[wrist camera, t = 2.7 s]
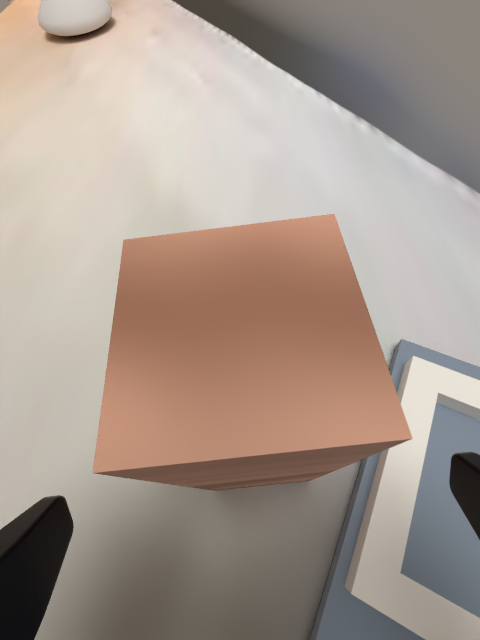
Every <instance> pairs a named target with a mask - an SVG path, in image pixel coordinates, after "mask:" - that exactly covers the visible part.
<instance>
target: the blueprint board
mask: <svg viewBox="0 0 480 640" xmlns="http://www.w3.org/2000/svg"><path fill="white" fill-rule="evenodd" d="M389 372H390V375H391V378H392V381H393V384H394V386H395V389H396V392H397V395H398V398H399V401H400V404H401V406H402V409H403V412H404V415H405V418H406V421H407V424H408V426H409V429H410V432H411V435H412V438H413V439H411V440H409V441H406V442H404V443H401V444H399V445H396V446H394V447H391V448H389V449H386V450H384V451H382V452H379V453H377V454H374V455H372V456H369V457H367V458H364V459H363V460H362V463H361V466H360V470H359V473H358V477H357V480H356V483H355V487H354V490H353V494H352V497H351V500H350V504H349V507H348V511H347V514H346V517H345V521H344V524H343V528H342V531H341V534H340V538H339V541H338V545H337V548H336V552H335V555H334V558H333V562H332V565H331V569H330V572H329V575H328V579H327V582H326V586H325V589H324V592H323V596H322V599H321V603H320V606H319V609H318V613H317V616H316V620H315V623H314V626H313V630H312V633H311V637H310V640H480V540H479V538H478V537H477V535H476V533H475V531H474V530H473V528H472V526H471V525H470V523H469V521H468V520H467V518H466V516H465V514H464V513H463V511H462V509H461V508H460V506H459V504H458V503H457V501H456V499H455V497H454V496H453V494H452V492H451V489H450V485H449V478H450V464H451V457H452V455H453V454H455V453H460V452H474V453H477V454H479V455H480V367H477V366H475V365H472V364H469V363H466V362H464V361H461V360H458V359H455V358H453V357H450V356H447V355H444V354H442V353H439V352H436V351H433V350H431V349H428V348H425V347H422V346H419V345H417V344H414V343H411V342H408V341H406V340H403V339H402V340H401V341H400V342H399V343H398V344H397V345H396V347H395V351H394V354H393V358H392V361H391V364H390V368H389Z"/></svg>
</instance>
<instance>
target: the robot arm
mask: <svg viewBox="0 0 480 640" xmlns="http://www.w3.org/2000/svg"><path fill="white" fill-rule="evenodd" d="M449 485H450V489H451V492H452V494H453V496H454V497H455V499H456V501H457V503H458V504H459V506H460V508H461V509H462V511H463V513H464V514H465V516H466V518H467V520H468V521H469V523H470V525H471V526H472V528H473V530H474V531H475V533H476V535H477V537H478V538H479V540H480V455H479V454H477V453H474V452H460V453H455V454H453V455H452V457H451V464H450V478H449ZM72 533H73V520H72V517H71V514H70V511H69V508H68V505H67V502H66V499H65V498H64V497H63V496H50V497H45V498H43V499H41V500H40V501H38V502H37V503H36V504H34V505H33V506H32V507H30V508H29V509H28V510H26V511H25V512H24V513H22V514H21V515H19V516H18V517H17V518H15V519H14V520H13V521H11V522H10V523H9V524H7V525H6V526H5V527H3V528H2V529H1V530H0V640H34V638H35V636H36V634H37V631H38V629H39V627H40V624H41V622H42V619H43V617H44V614H45V612H46V609H47V606H48V604H49V601H50V598H51V595H52V592H53V589H54V586H55V583H56V581H57V578H58V575H59V572H60V569H61V566H62V563H63V560H64V557H65V554H66V551H67V548H68V545H69V542H70V540H71V537H72Z"/></svg>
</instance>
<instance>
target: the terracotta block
mask: <svg viewBox="0 0 480 640" xmlns="http://www.w3.org/2000/svg"><path fill="white" fill-rule="evenodd" d="M411 439H413V438H412V435H411V432H410V429H409V426H408V424H407V421H406V418H405V415H404V412H403V409H402V406H401V404H400V401H399V398H398V395H397V392H396V389H395V386H394V384H393V381H392V378H391V375H390V372H389V369H388V366H387V364H386V361H385V358H384V355H383V352H382V349H381V346H380V344H379V341H378V338H377V335H376V332H375V329H374V326H373V324H372V321H371V318H370V315H369V312H368V309H367V306H366V304H365V301H364V298H363V295H362V292H361V289H360V286H359V284H358V281H357V278H356V275H355V272H354V269H353V266H352V263H351V261H350V258H349V255H348V252H347V249H346V246H345V243H344V241H343V238H342V235H341V232H340V229H339V226H338V223H337V221H336V218H335V215H334V214H330V215H322V216H314V217H306V218H298V219H289V220H281V221H273V222H265V223H257V224H249V225H241V226H232V227H224V228H216V229H208V230H200V231H192V232H184V233H176V234H167V235H159V236H151V237H143V238H135V239H127V240H124V241H123V249H122V256H121V264H120V272H119V279H118V287H117V294H116V302H115V309H114V317H113V324H112V332H111V339H110V347H109V354H108V362H107V369H106V377H105V384H104V392H103V399H102V407H101V414H100V422H99V429H98V437H97V444H96V452H95V460H94V467H93V473H95V474H102V475H109V476H116V477H123V478H130V479H137V480H144V481H151V482H158V483H165V484H172V485H179V486H186V487H193V488H200V489H207V490H224V489H233V488H243V487H252V486H262V485H272V484H281V483H291V482H300V481H310V480H313V479H315V478H318V477H320V476H323V475H325V474H328V473H330V472H332V471H335V470H337V469H340V468H342V467H345V466H347V465H350V464H352V463H355V462H357V461H359V460H362V459H364V458H367V457H369V456H372V455H374V454H377V453H379V452H382V451H384V450H386V449H389V448H391V447H394V446H396V445H399V444H401V443H404V442H406V441H409V440H411Z"/></svg>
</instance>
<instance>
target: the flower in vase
mask: <svg viewBox="0 0 480 640" xmlns="http://www.w3.org/2000/svg"><path fill="white" fill-rule="evenodd" d="M111 14H112V7H111V5H110V4H109V2H108V1H107V0H42V1H41V4H40V8H39V14H38V19H39V25H40V26H41V27H42V28H43V29H44V30H45V31H46V32H48V33H50V34H54V35H58V36H75V35H80V34H85V33H88V32H91V31H93V30H96V29H98V28H100V27H101V26H103V25H104V24H105V23H106V22H107V21H108V20H109V19H110V17H111Z"/></svg>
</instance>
